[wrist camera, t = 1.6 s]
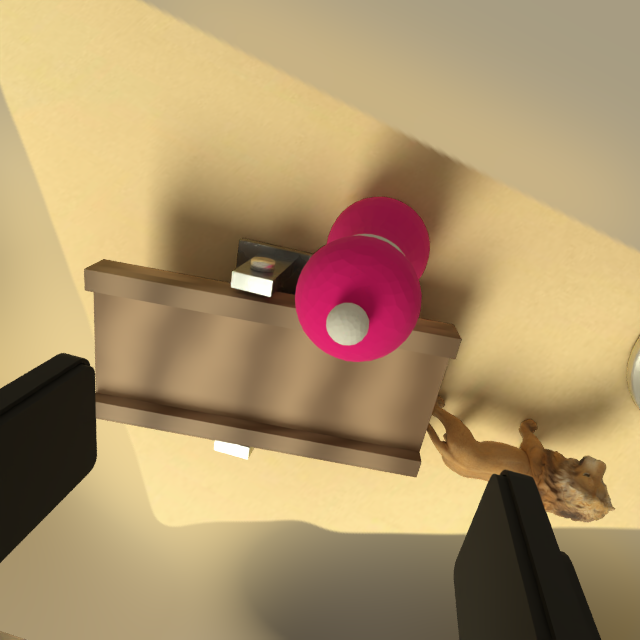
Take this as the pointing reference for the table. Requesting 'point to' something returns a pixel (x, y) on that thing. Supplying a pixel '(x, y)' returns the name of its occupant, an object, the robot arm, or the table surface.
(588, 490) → the lion figurine
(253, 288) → the beam stand
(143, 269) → the balance beam
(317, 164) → the table surface
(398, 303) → the pepper mill
